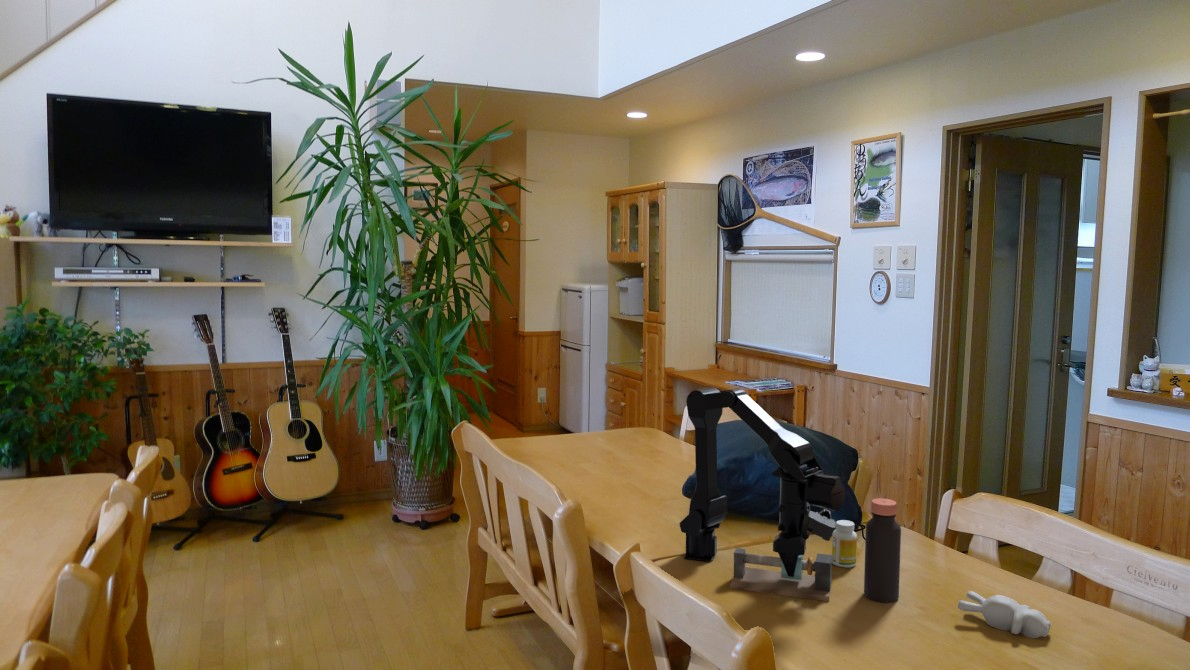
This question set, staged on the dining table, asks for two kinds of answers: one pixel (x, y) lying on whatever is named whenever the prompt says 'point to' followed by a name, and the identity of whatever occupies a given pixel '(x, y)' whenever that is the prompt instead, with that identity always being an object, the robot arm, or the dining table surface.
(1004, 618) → the bunny figurine
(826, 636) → the dining table surface
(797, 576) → the sleeve
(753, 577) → the rod stand
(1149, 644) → the dining table surface
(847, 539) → the supplement bottle
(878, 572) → the water bottle
